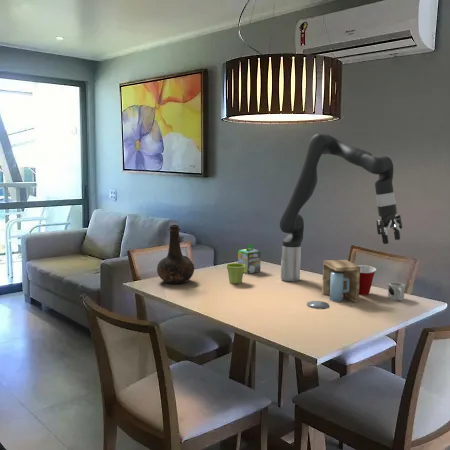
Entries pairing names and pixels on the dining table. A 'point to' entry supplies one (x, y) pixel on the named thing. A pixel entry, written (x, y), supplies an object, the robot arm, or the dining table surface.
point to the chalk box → (250, 259)
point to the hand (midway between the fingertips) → (391, 241)
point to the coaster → (317, 304)
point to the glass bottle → (175, 261)
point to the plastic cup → (366, 279)
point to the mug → (396, 291)
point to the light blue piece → (338, 286)
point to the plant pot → (235, 272)
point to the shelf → (349, 272)
